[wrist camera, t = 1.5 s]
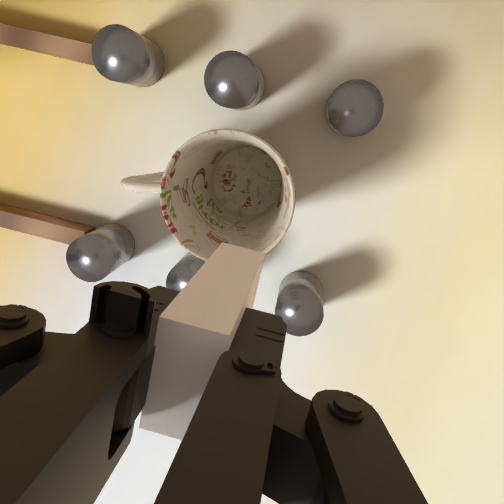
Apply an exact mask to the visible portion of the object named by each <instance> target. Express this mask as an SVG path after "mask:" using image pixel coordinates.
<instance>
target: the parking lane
mask: <svg viewBox="0 0 504 504" xmlns="http://www.w3.org/2000/svg"><path fill="white" fill-rule="evenodd" d="M0 44H5V45H9V46H13V47H18V48H22V49H26V50H30V51H35V52H39V53H43V54H48V55H52V56H56V57H60V58H65V59H69V60H73V61H77V62H82V63H86V64H90V65H94V63H93V60H92V55H91V47H92V44H89V43H85V42H80V41H76V40H72V39H67V38H63V37H59V36H54V35H50V34H46V33H41V32H37V31H33V30H29V29H24V28H20V27H16V26H11V25H7V24H3V23H0ZM0 227H3V228H7V229H11V230H15V231H19V232H23V233H27V234H31V235H34V236H38V237H42V238H46V239H50V240H54V241H58V242H62V243H66V244H71V243H72V242H73V241H74V240H75V239H77V238H79V237H81V236H83V235H86V234H88V233H90V232H92V231H94V227H90V226H86V225H82V224H78V223H75V222H71V221H67V220H63V219H59V218H55V217H51V216H47V215H43V214H39V213H35V212H31V211H27V210H23V209H19V208H15V207H11V206H8V205H4V204H0Z"/></svg>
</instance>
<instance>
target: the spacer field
mask: <svg viewBox="0 0 504 504" xmlns="http://www.w3.org/2000/svg"><path fill="white" fill-rule="evenodd" d="M91 55H92V60H93V63H94V65H95V67H96V69H97V70H98V72H99V73H100V74H101V75H103V76H104V77H105V78H107V79H109V80H112V81H116V82H121V83H125V84H129V85H134V86H138V87H148V86H151V85H153V84H154V83H156V82H157V81H158V80H159V79H160V77H161V75H162V73H163V70H164V57H163V54H162V51H161V50H160V48H159V47H158V46H157V44H155V43H154V42H153V41H151V40H149V39H148V38H146V37H144V36H142V35H140V34H138V33H136V32H135V31H133V30H131V29H129V28H127V27H125V26H122V25H118V24H113V25H108V26H106V27H104V28H102V29H101V30H100V31H99V32H98V33H97V34H96V36H95V38H94V40H93V43H92V47H91ZM204 83H205V88H206V91H207V93H208V95H209V96H210V98H211V99H212V100H213V101H214V102H216V103H217V104H219V105H221V106H223V107H227V108H231V109H236V110H246V109H250V108H252V107H253V106H255V105H256V104H257V103H258V102H259V101H260V99H261V98H262V95H263V93H264V85H265V84H264V78H263V75H262V73H261V72H260V70H259V69H258V68H257V67H256V66H255V64H254V63H253V62H252V61H251V60H250V59H249V58H248V57H247V56H246V55H244V54H242V53H240V52H237V51H225V52H222V53H219V54H218V55H216V56H215V57H214V58H213V59H212V60H211V61H210V62H209V64H208V66H207V68H206V70H205V75H204ZM382 114H383V99H382V96H381V94H380V92H379V91H378V89H377V88H376V87H375V86H374V85H373V84H371V83H369V82H367V81H364V80H350V81H347V82H345V83H343V84H341V85H340V86H339V87H337V88H336V89H335V91H334V92H333V93H332V95H331V97H330V98H329V100H328V102H327V105H326V119H327V122H328V124H329V125H330V127H331V128H332V129H333V130H334V131H336V132H337V133H340V134H342V135H346V136H352V137H356V136H362V135H364V134H367V133H368V132H370V131H371V130H373V129H374V128H375V127H376V126H377V124H378V123H379V121H380V119H381V117H382ZM134 249H135V243H134V239H133V236H132V235H131V233H130V232H129V231H128V230H127V229H126V228H125V227H123V226H121V225H118V224H107V225H104V226H102V227H100V228H98V229H96V230H94V231H92V232H90V233H88V234H86V235H83V236H81V237H79V238H77V239H75V240H74V241H73V242H72V243H71V244H70V245H69V247H68V249H67V253H66V260H67V264H68V266H69V268H70V270H71V271H72V273H73V274H74V275H75V276H76V277H78V278H79V279H81V280H84V281H87V282H96V281H99V280H101V279H103V278H104V277H106V276H107V275H108V274H110V273H111V272H113V271H114V270H115V269H117V268H118V267H119V266H121V265H122V264H124V263H125V262H126V261H128V260H129V259H130V258H131V257H132V255H133V253H134ZM205 262H206V260H203V259H201V258H199V257H197V256H195V255H193V254H192V253H190V252H188V253H187V254H186V255H185V256H184V257H183V258H182V259H181V260H180V261H179V262H178V263H177V264H176V265H175V266H174V267H173V268H172V269H171V271H170V272H169V274H168V276H167V280H166V287H167V288H169V289H173V290H177V291H181V290H182V289H183V288H184V287H185V286H186V284H187V283H188V282H189V281H190V280H191V278H192V277H193V276H194V275H195V274H196V273H197V271H198V270H199V269H200V268H201V267H202V265H203V264H204V263H205ZM275 315H277V316H281V317H282V319H283V320H284V322H285V324H286V325H287V329H286V332H287V333H288V334H291V335H294V336H306V335H309V334H311V333H313V332H314V331H316V330H317V329H318V328H319V326H320V325H321V323H322V320H323V315H324V314H323V298H322V287H321V284H320V282H319V280H318V279H317V278H316V277H315V276H314V275H312V274H310V273H308V272H304V271H296V272H293V273H290V274H289V275H287V276H286V277H285V278H284V279H283V280H282V282H281V284H280V288H279V293H278V298H277V303H276V308H275Z"/></svg>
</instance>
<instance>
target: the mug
mask: <svg viewBox="0 0 504 504" xmlns="http://www.w3.org/2000/svg"><path fill="white" fill-rule="evenodd" d="M120 185H121V187H122V188H124V189H126V190H129V191H134V192H148V193H160V201H161V208H162V213H163V216H164V219H165V222H166V224H167V226H168V228H169V230H170V231H171V233H172V234H173V236H174V237H175V239H176V240H177V241H178V242H179V243H180V244H181V245H182V246H183V247H184V248H185V249H186V250H188V251H189V252H190V253H192V254H193V255H195V256H197V257H199V258H201V259H203V260H206V261H207V260H208V258H209V257H210V256H211V255H212V254H213V253H214V251H215V250H216V249H217V248H218V247H219V245H220V244H221V243H222V242H223V243H227V244H231V245H235V246H239V247H243V248H247V249H251V250H255V251H259V252H263V253H265V254H266V253H268V252H269V251H271V250H272V249H273V248H274V247H275V246H276V245H277V244H278V243H279V242H280V241H281V239H282V238H283V237H284V235H285V233H286V232H287V230H288V228H289V226H290V223H291V221H292V217H293V213H294V208H295V188H294V183H293V179H292V176H291V173H290V171H289V169H288V166H287V165H286V163H285V161H284V160H283V158H282V157H281V156H280V154H279V153H278V152H277V151H276V150H275V149H274V148H273V147H272V146H271V145H270V144H269V143H267V142H266V141H264V140H263V139H261V138H260V137H258V136H256V135H253V134H251V133H249V132H245V131H242V130H236V129H216V130H211V131H207V132H204V133H201V134H199V135H197V136H195V137H193V138H191V139H190V140H188V141H187V142H186V143H184V144H183V145H182V146H181V147H180V148H179V149H178V150H177V151H176V152H175V154H174V155H173V156H172V158H171V159H170V161H169V163H168V164H167V167H166V169H165V171H164V172H159V173H153V174H146V175H139V176H132V177H127V178H124V179H123V180H121V182H120Z"/></svg>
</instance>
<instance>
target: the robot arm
mask: <svg viewBox="0 0 504 504" xmlns="http://www.w3.org/2000/svg"><path fill="white" fill-rule="evenodd" d="M264 257H265V253H263V252H259V251H255V250H251V249H247V248H243V247H239V246H235V245H231V244H227V243H223V242H222V243H221V244H220V245H219V247H218V248H217V249H216V250H215V251H214V253H213V254H212V255H211V256H210V257H209V258H208V260H207V261H206V262H205V263H204V264H203V265H202V267H201V268H200V269H199V270H198V271H197V273H196V274H195V275H194V276H193V277H192V278H191V280H190V281H189V282H188V283H187V284H186V286H185V287H184V288H183V289H182V290H181V291H177V290H173V289H169V288H165V287H162V286H157V287H153V288H150V289H148V288H146V287H143V286H141V285H138V284H134V283H128V282H117V281H111V282H104V283H100V284H98V285H95V286H94V289H93V296H92V304H91V311H90V318H89V322H88V323H87V324H86V325H85V326H84V327H82V328H81V329H80V330H79V331H78V332H76V333H75V334H65V333H55V332H45V327H46V319H45V317H44V315H43V314H42V313H40V312H38V311H37V310H35V309H31V308H28V307H26V306H22V305H19V306H17V305H12V304H10V305H7V306H0V504H93V503H94V502H95V500H96V498H97V497H98V495H99V493H100V492H101V490H102V488H103V487H104V485H105V483H106V482H107V480H108V478H109V477H110V475H111V473H112V472H113V470H114V468H115V467H116V465H117V463H118V462H119V460H120V458H121V457H122V455H123V453H124V452H125V450H126V448H127V447H128V445H129V443H130V441H131V437H132V433H133V427H134V422H135V419H136V418H137V416H138V415H139V413H140V411H141V410H142V414H141V420H140V425H139V428H142V429H145V430H149V431H152V432H156V433H159V434H163V435H166V436H170V437H173V438H177V439H180V440H182V442H181V444H180V446H179V449H178V451H177V453H176V455H175V458H174V460H173V462H172V464H171V467H170V469H169V471H168V473H167V475H166V478H165V480H164V482H163V484H162V487H161V489H160V491H159V493H158V496H157V498H156V500H155V502H154V504H260V502H261V496H262V494H264V495H266V496H267V497H269V498H271V499H272V500H274V501H276V502H277V503H279V504H428V503H427V501H426V499H425V497H424V495H423V493H422V492H421V490H420V488H419V486H418V484H417V483H416V481H415V479H414V477H413V475H412V474H411V472H410V470H409V468H408V466H407V465H406V463H405V461H404V459H403V457H402V456H401V454H400V452H399V450H398V448H397V446H396V445H395V443H394V441H393V439H392V437H391V436H390V434H389V432H388V430H387V428H386V427H385V425H384V423H383V421H382V419H381V418H380V416H379V414H378V413H377V412H376V411H375V409H374V408H373V407H372V406H371V405H370V404H368V403H367V402H365V401H364V400H363V399H362V398H360V397H358V396H356V395H353V394H352V393H349V392H343V391H339V390H323V391H320V392H317V393H316V394H315V396H314V397H313V398H312V401H311V400H309V399H306V398H304V397H302V396H301V395H299V394H297V393H295V392H294V391H293V390H291V389H290V388H289V387H288V386H287V385H286V384H285V383H284V382H283V381H282V379H281V369H280V365H281V359H282V353H283V347H284V341H285V335H286V329H287V325H286V324H285V322H284V320H283V319H282V317H281V316H277V315H273V314H270V313H266V312H262V311H258V310H254V309H252V307H253V303H254V299H255V294H256V290H257V286H258V282H259V278H260V274H261V269H262V265H263V261H264Z"/></svg>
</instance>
